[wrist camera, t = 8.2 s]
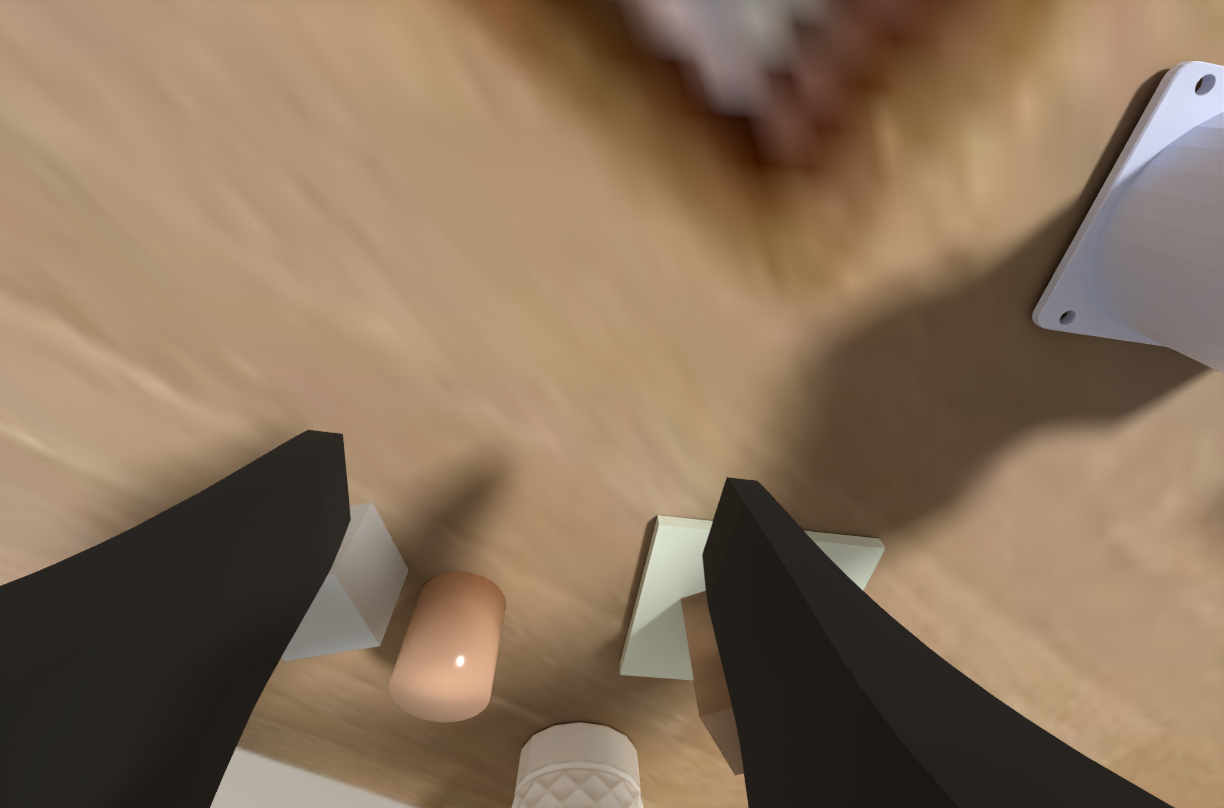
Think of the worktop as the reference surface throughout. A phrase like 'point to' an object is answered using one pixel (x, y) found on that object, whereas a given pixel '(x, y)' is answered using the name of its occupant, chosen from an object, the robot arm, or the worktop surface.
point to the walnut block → (710, 680)
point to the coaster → (680, 573)
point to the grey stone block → (353, 592)
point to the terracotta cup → (450, 649)
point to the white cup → (578, 769)
